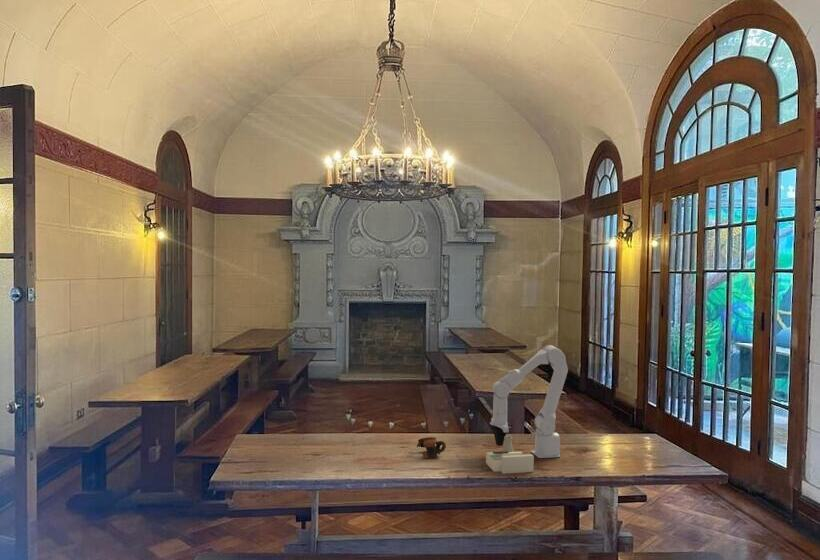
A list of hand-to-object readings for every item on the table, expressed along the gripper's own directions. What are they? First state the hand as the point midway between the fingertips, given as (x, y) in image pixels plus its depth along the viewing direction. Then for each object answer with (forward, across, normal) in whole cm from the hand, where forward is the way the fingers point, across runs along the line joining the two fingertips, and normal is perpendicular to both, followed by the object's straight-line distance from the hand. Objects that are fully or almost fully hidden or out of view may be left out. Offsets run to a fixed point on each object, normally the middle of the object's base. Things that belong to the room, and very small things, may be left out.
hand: (499, 445), depth 234 cm
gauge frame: (+4, +14, -1) cm, 15 cm away
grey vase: (+4, +9, 0) cm, 10 cm away
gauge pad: (+4, +14, -2) cm, 14 cm away
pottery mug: (+4, -4, -27) cm, 28 cm away
